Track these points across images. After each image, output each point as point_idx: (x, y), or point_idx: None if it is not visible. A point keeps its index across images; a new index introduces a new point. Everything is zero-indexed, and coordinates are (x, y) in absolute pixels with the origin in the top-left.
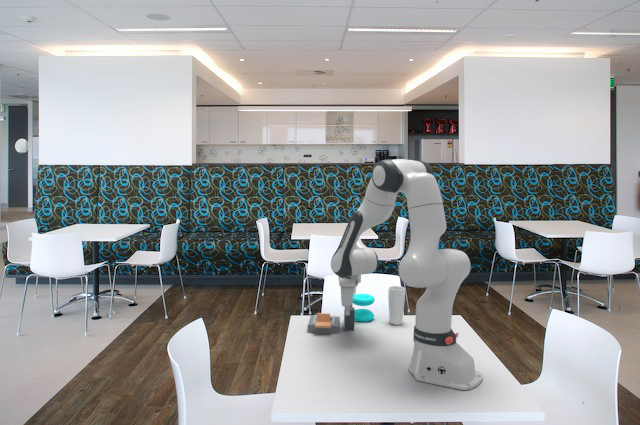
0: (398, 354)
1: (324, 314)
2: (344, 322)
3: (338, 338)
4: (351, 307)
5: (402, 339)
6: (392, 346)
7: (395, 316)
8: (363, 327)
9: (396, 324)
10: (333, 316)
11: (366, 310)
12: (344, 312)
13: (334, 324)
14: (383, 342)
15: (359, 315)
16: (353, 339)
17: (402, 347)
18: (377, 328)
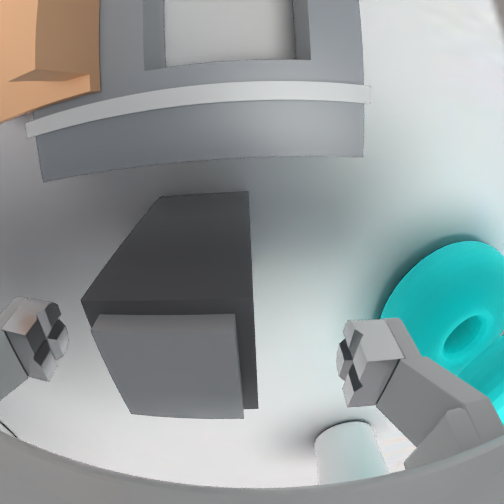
0: (7, 400)
1: (14, 10)
2: (137, 227)
3: (6, 185)
4: (208, 401)
5: (134, 442)
6: (49, 405)
7: (319, 472)
8: (265, 328)
9: (315, 441)
10: (362, 83)
11: (466, 359)
12: (93, 286)
13: (70, 131)
14: (66, 390)
15: (406, 325)
16: (26, 274)
17: (60, 424)
18: (257, 390)
